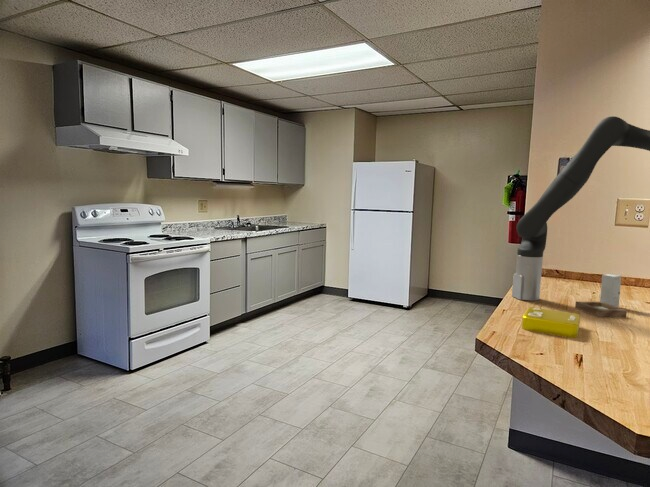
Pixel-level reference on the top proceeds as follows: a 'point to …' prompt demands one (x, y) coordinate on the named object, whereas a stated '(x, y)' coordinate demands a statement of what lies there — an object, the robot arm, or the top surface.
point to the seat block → (601, 309)
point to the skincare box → (610, 289)
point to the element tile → (551, 322)
